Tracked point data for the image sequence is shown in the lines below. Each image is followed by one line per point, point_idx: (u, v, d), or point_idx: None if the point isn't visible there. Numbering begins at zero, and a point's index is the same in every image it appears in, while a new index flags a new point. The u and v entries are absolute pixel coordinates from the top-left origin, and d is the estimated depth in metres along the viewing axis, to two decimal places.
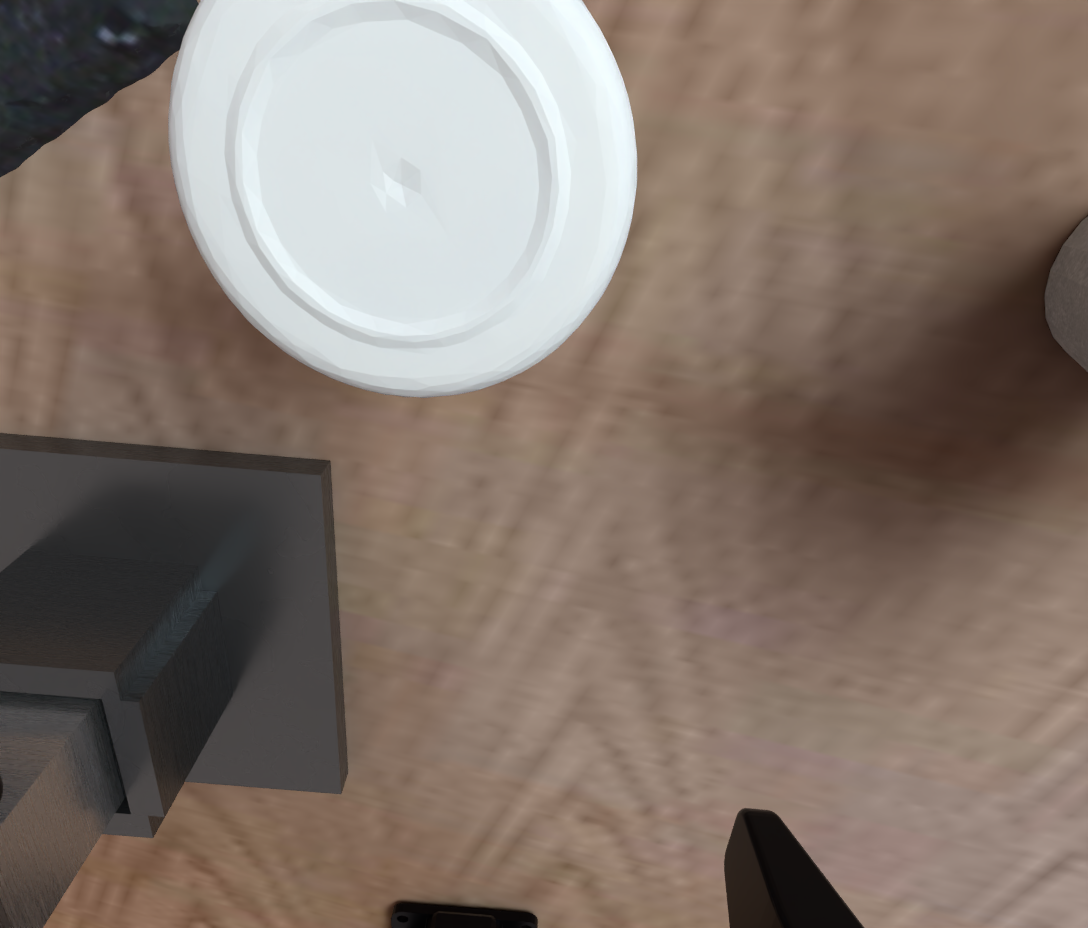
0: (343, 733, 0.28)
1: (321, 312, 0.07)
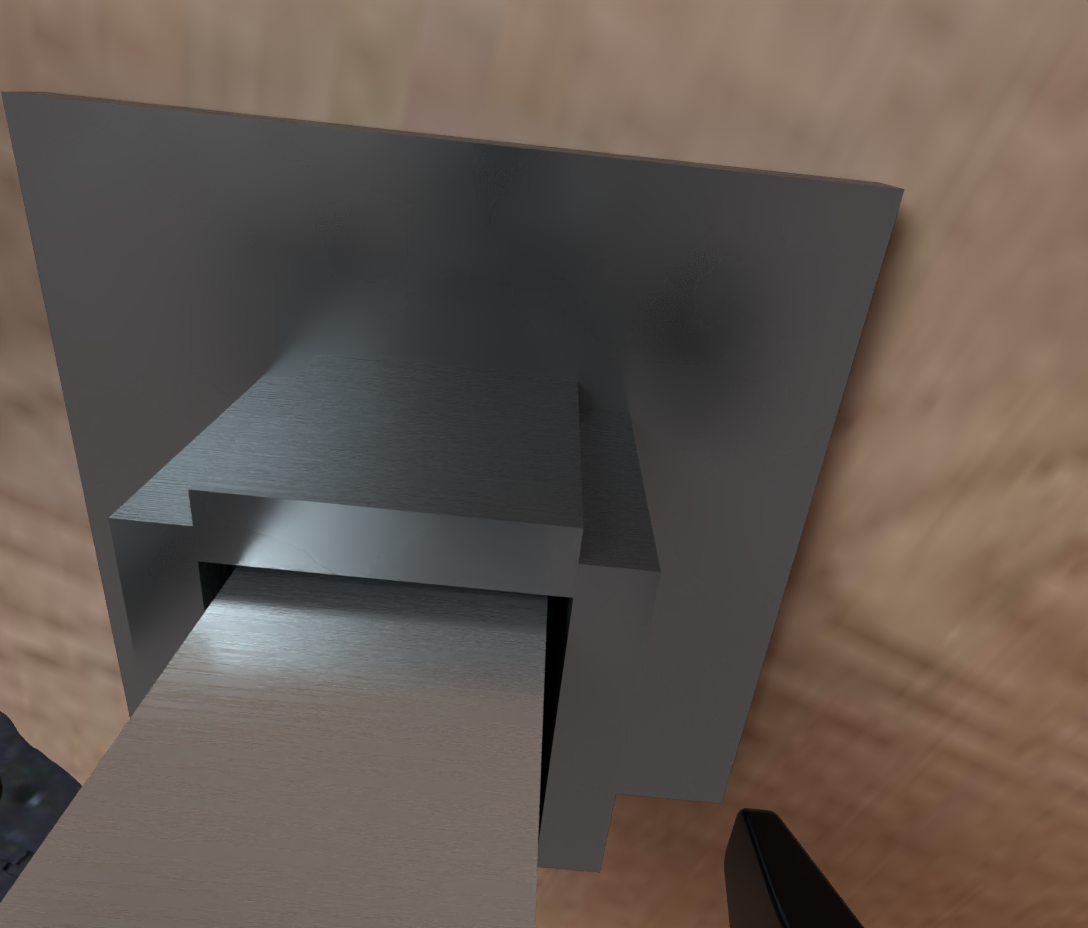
0: (737, 168, 0.12)
1: None
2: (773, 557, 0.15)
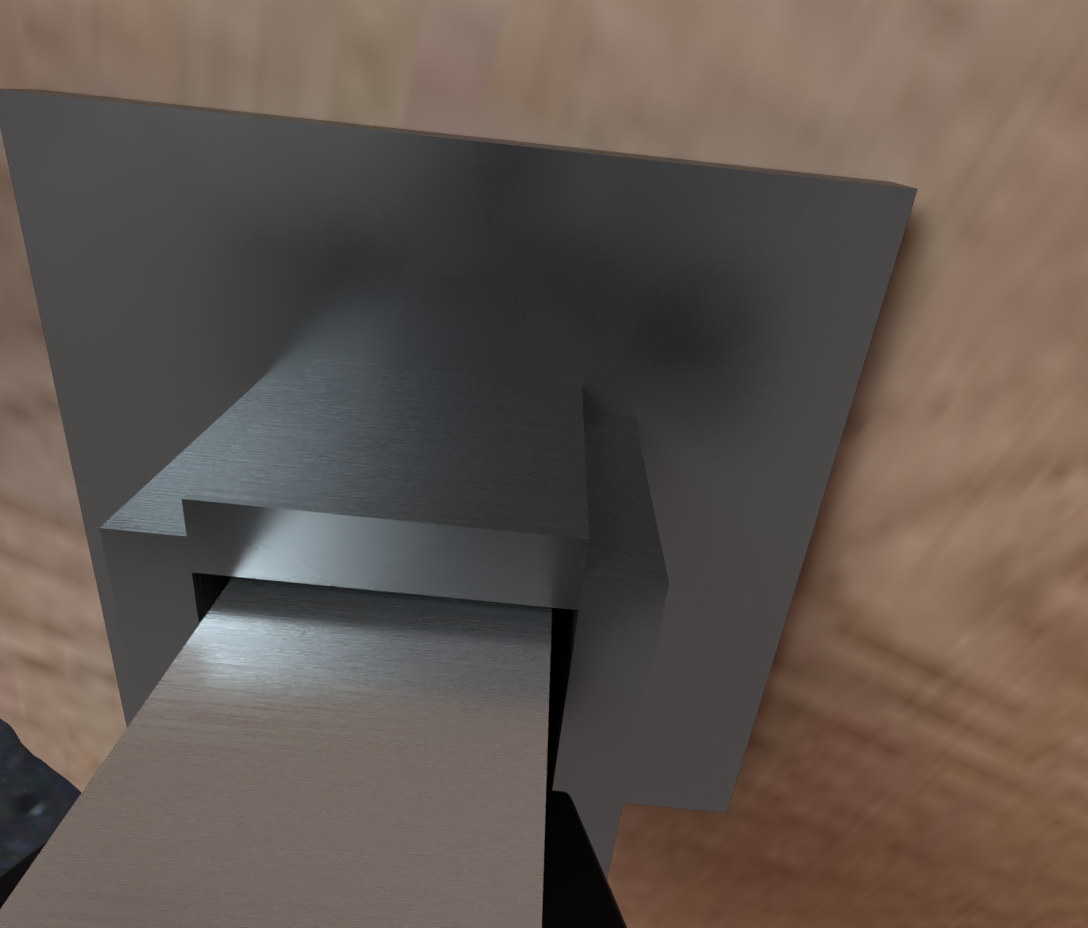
0: (746, 167, 0.12)
1: None
2: (781, 564, 0.14)
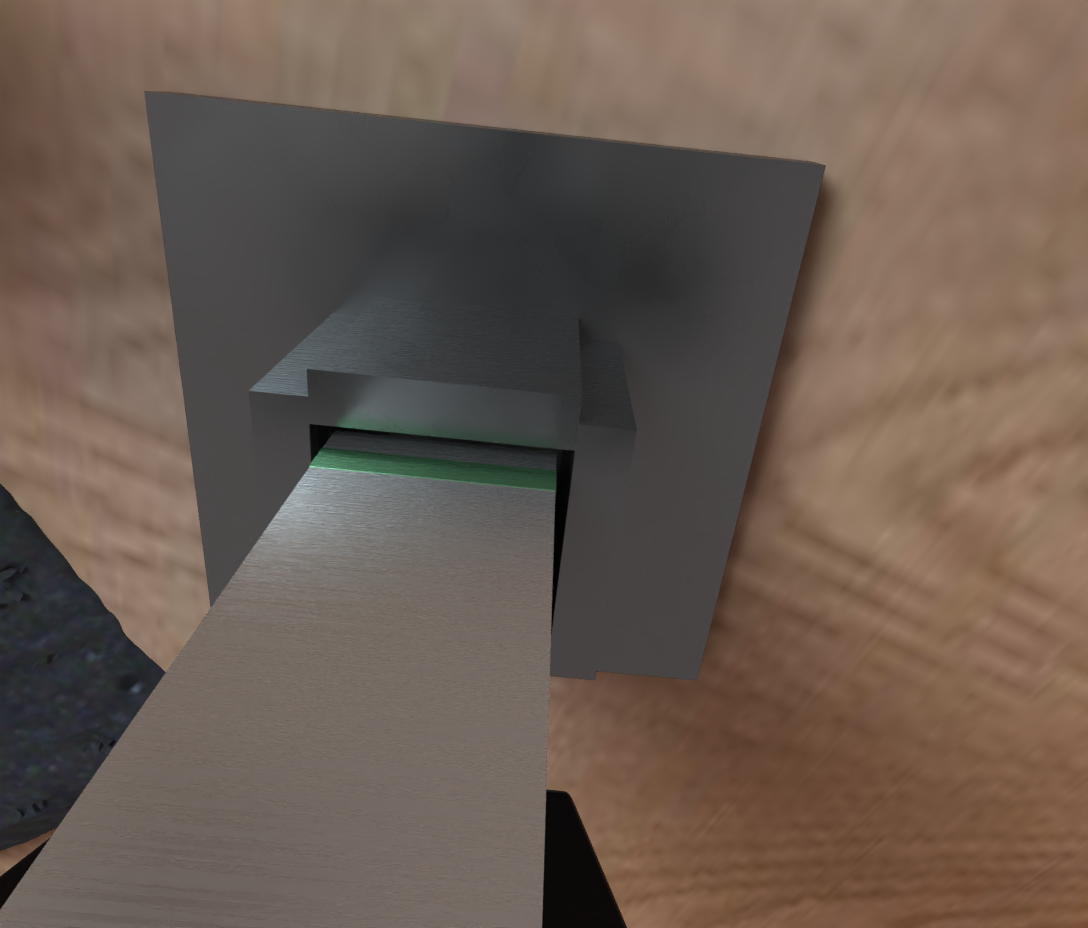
0: None
1: None
2: (734, 463, 0.18)
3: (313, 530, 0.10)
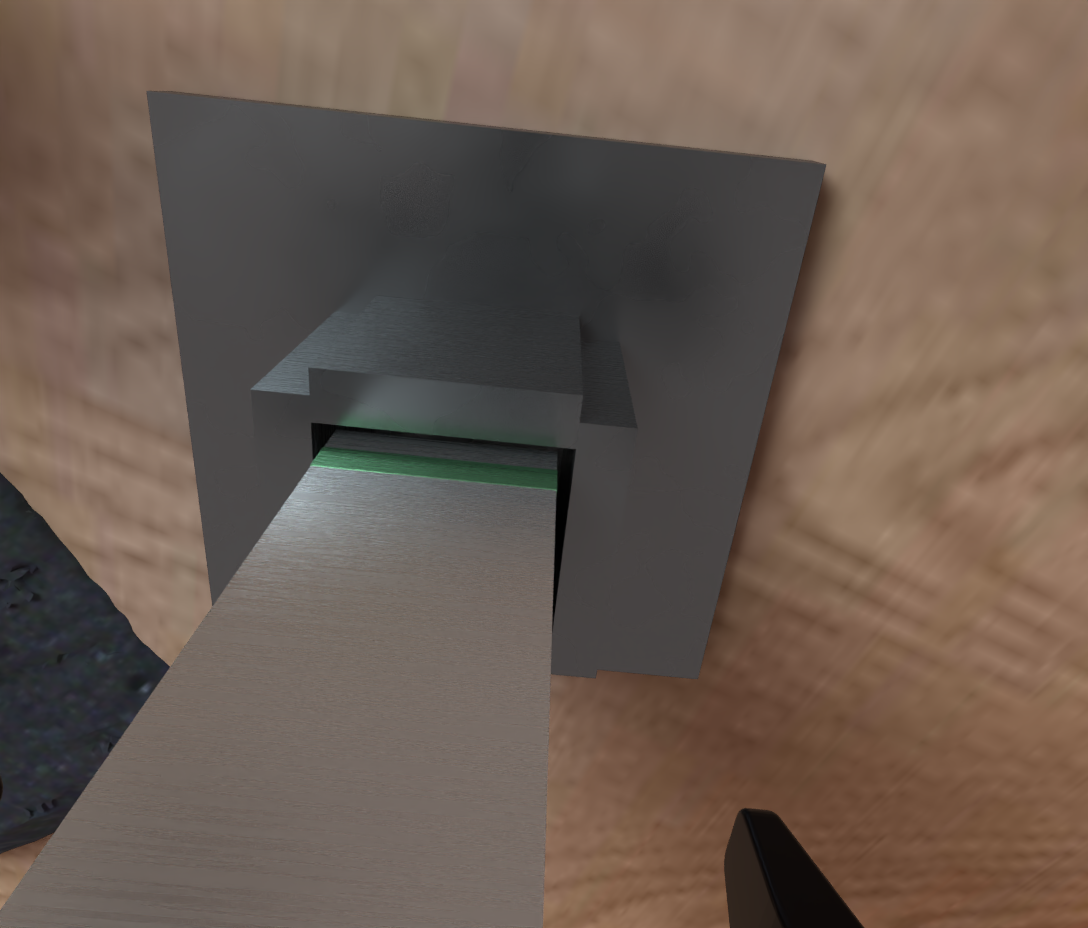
0: (701, 149, 0.16)
1: None
2: (735, 462, 0.18)
3: (314, 529, 0.10)
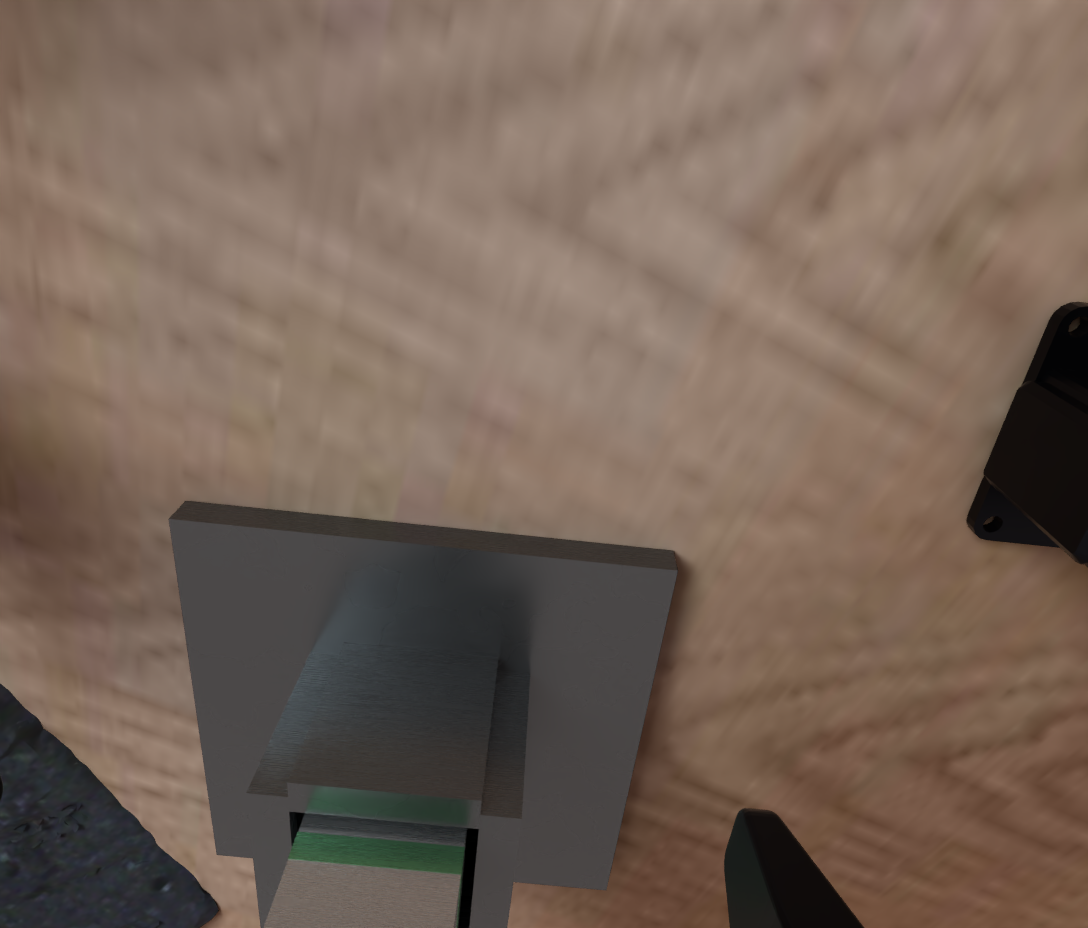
0: (588, 547, 0.21)
1: None
2: (624, 749, 0.24)
3: None
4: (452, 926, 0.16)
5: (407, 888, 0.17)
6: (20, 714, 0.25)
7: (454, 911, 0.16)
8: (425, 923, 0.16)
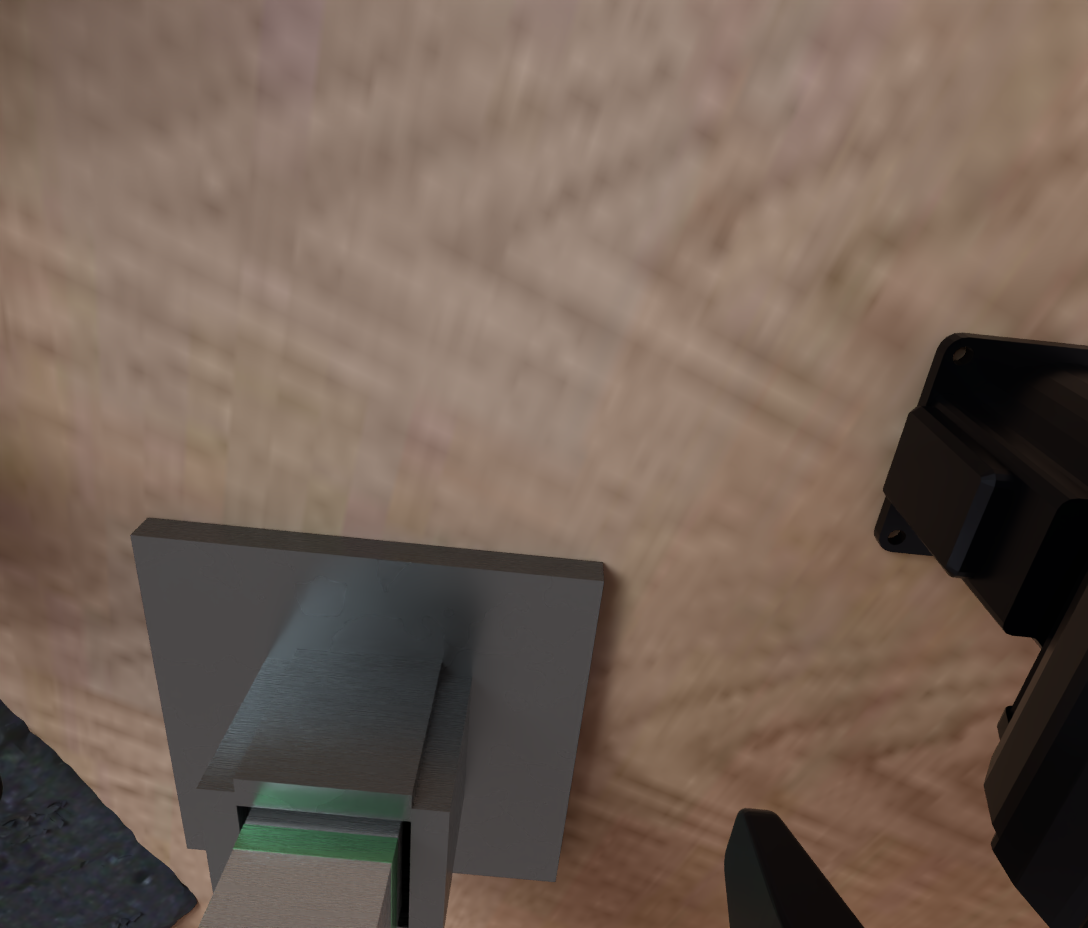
0: (521, 559, 0.23)
1: None
2: (564, 748, 0.25)
3: (228, 925, 0.17)
4: (379, 909, 0.18)
5: (341, 875, 0.18)
6: (8, 717, 0.26)
7: (382, 896, 0.18)
8: (354, 907, 0.18)
